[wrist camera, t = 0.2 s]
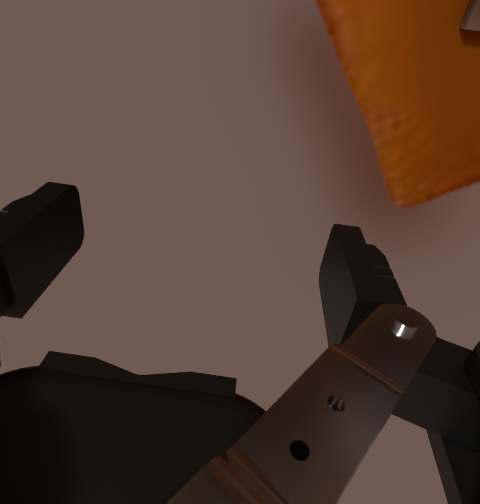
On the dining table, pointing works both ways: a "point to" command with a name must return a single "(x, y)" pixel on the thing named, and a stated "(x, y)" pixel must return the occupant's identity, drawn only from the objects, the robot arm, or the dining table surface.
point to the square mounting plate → (472, 16)
